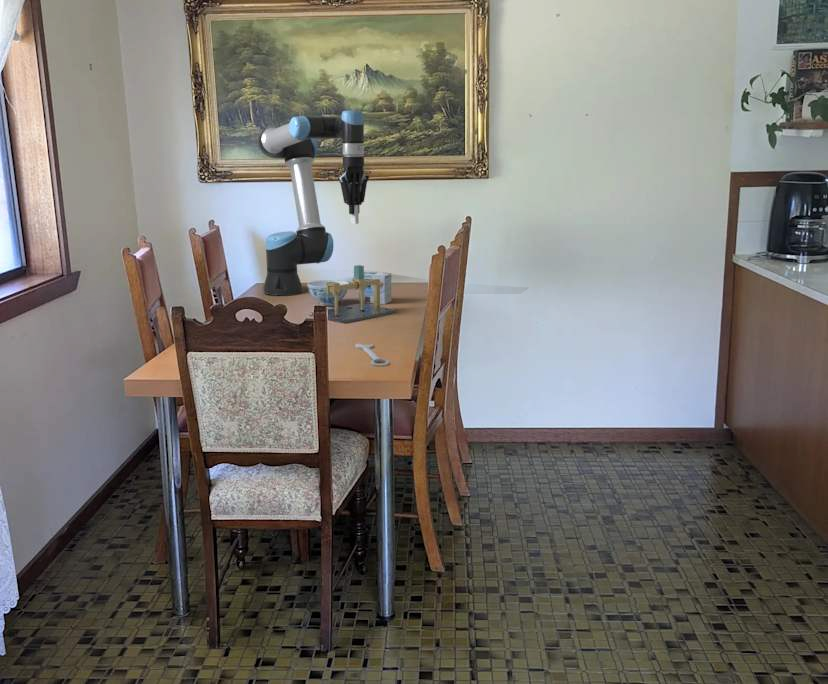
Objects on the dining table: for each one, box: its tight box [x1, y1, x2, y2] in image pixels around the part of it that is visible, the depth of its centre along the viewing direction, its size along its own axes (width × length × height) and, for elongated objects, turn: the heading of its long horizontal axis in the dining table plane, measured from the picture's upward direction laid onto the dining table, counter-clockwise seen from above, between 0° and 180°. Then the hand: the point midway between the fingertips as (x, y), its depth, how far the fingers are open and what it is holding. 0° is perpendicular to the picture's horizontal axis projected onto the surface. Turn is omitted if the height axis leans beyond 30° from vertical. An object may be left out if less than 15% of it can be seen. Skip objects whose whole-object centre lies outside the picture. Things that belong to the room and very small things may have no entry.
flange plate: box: [311, 302, 397, 324], centre depth 295 cm, size 18×24×1 cm
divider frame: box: [326, 279, 381, 316], centre depth 295 cm, size 4×22×11 cm, turn 136°
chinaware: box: [307, 279, 349, 307], centre depth 312 cm, size 15×15×8 cm
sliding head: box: [352, 264, 366, 310], centre depth 295 cm, size 4×2×15 cm, turn 46°
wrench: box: [354, 343, 390, 367], centre depth 241 cm, size 25×2×5 cm
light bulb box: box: [358, 271, 393, 305], centre depth 316 cm, size 11×7×11 cm, turn 70°
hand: (354, 223), depth 306 cm, fingers closed
